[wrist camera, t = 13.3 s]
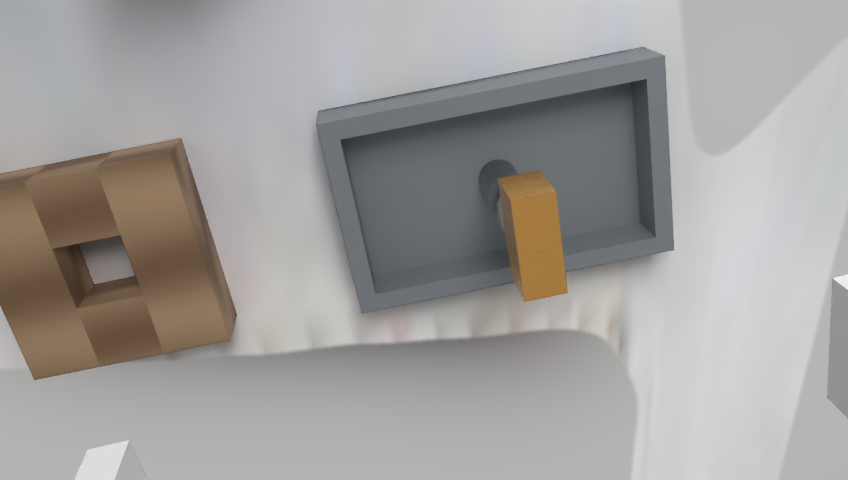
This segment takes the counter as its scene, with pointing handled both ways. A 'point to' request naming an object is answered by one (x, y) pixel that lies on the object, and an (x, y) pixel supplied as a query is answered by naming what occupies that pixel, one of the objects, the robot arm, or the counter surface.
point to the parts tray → (507, 140)
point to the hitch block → (146, 247)
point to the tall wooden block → (527, 227)
